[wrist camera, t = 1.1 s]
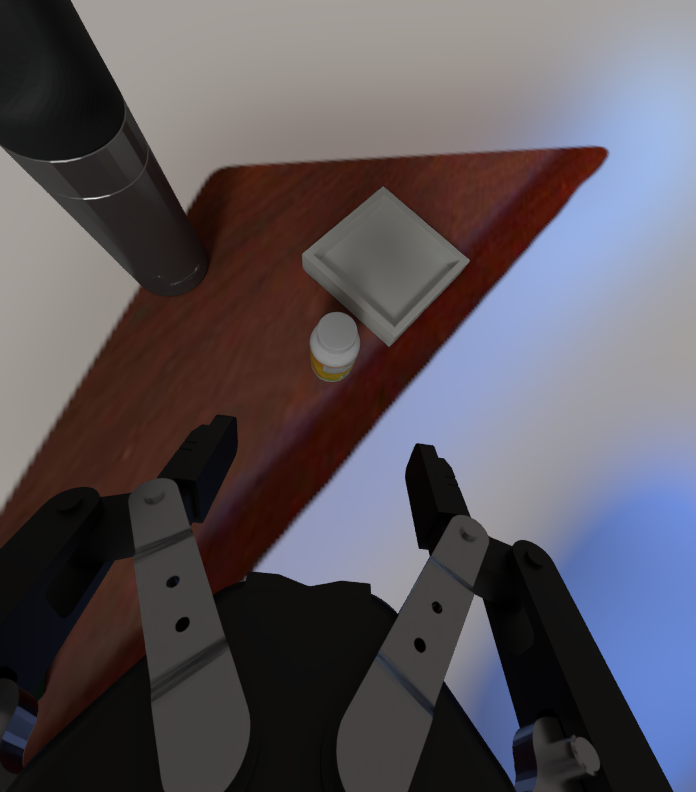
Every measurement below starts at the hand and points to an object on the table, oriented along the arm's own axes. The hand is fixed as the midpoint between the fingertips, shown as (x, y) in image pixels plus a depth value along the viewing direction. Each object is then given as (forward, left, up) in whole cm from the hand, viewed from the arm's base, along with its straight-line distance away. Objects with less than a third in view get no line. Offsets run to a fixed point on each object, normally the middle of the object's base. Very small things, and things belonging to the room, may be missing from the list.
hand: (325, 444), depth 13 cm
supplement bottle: (-7, +9, -23) cm, 25 cm away
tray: (-11, +24, -23) cm, 35 cm away
